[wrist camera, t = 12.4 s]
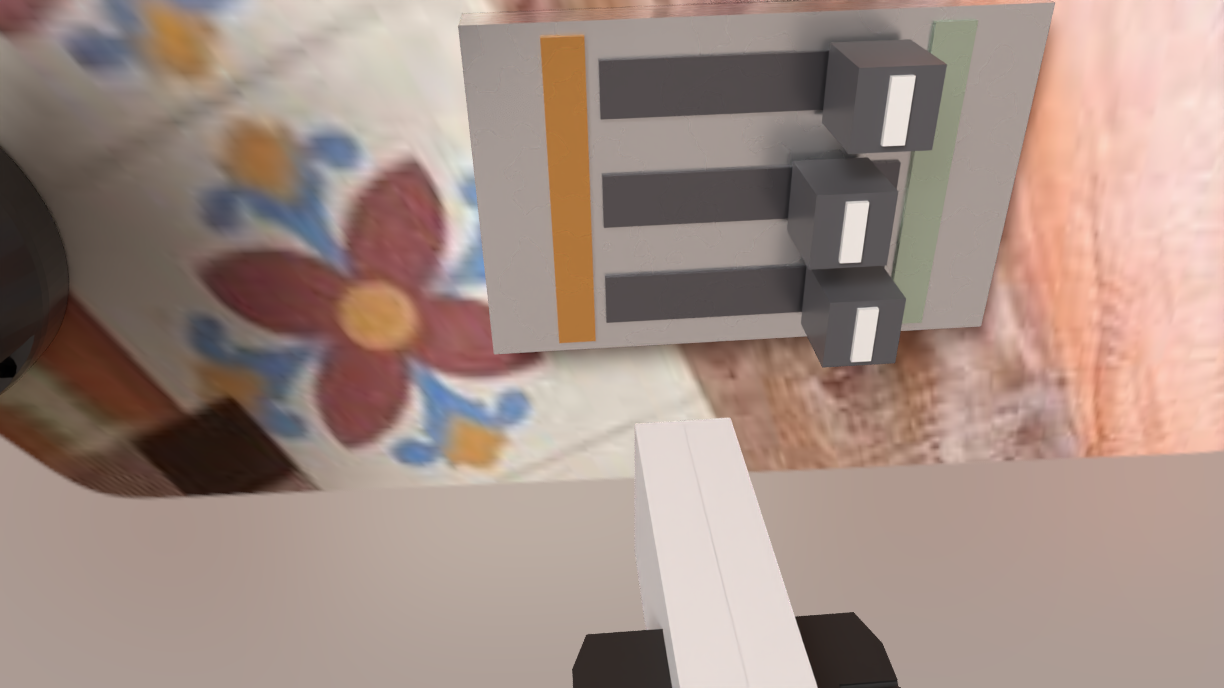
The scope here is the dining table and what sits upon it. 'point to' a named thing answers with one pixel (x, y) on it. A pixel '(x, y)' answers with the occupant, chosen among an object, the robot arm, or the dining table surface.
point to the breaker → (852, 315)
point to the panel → (723, 163)
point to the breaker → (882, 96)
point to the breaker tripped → (841, 213)
